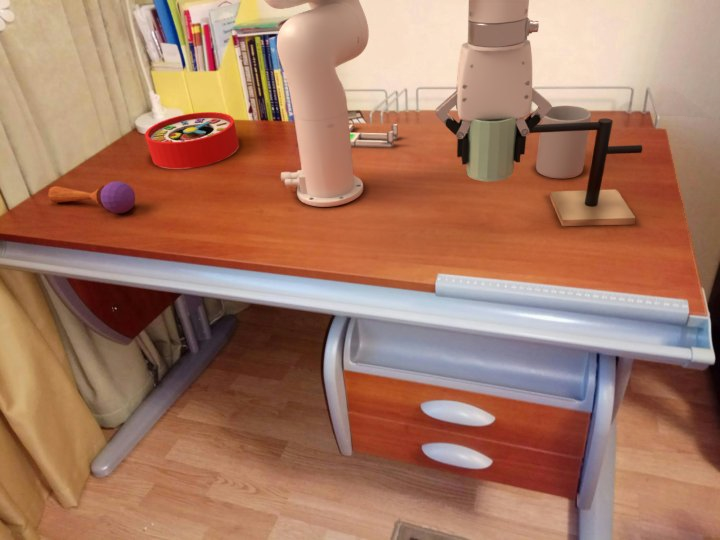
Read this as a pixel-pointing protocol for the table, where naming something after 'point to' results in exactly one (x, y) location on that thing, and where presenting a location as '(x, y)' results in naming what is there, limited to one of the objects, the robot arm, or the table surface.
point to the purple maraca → (99, 196)
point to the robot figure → (374, 138)
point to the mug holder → (592, 182)
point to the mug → (563, 144)
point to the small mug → (491, 149)
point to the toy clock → (192, 140)
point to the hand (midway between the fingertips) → (489, 159)
